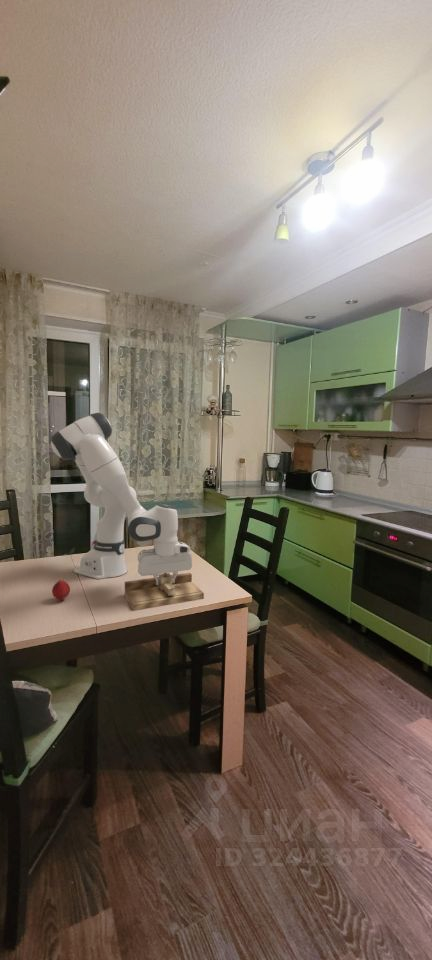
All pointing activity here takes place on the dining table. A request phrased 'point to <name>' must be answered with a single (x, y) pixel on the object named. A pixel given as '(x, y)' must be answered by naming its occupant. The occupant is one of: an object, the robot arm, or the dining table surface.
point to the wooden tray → (160, 592)
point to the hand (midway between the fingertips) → (165, 583)
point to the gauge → (167, 584)
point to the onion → (60, 589)
